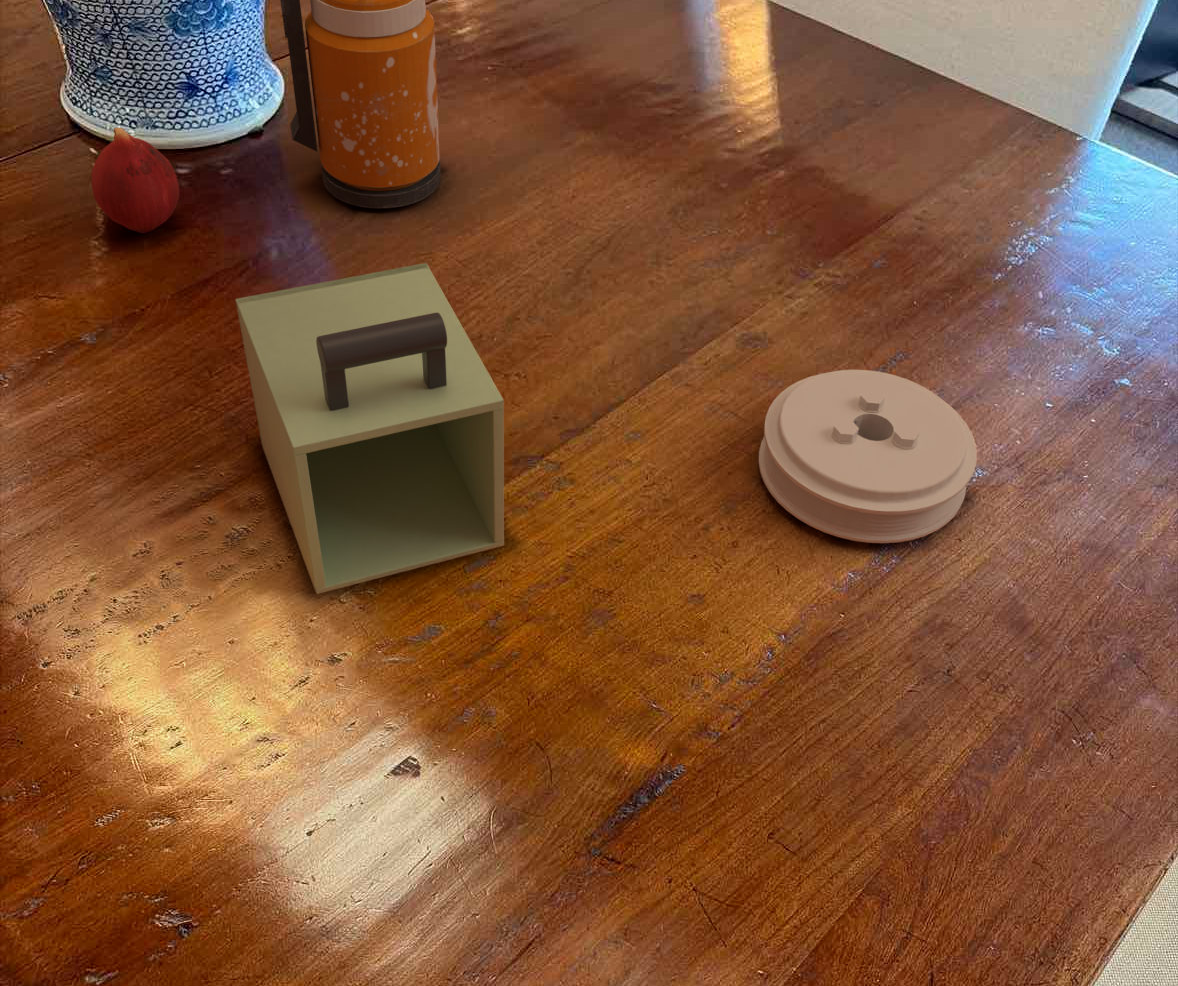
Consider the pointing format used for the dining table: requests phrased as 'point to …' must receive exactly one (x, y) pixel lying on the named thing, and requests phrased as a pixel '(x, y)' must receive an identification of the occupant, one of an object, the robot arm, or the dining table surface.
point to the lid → (866, 456)
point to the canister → (367, 97)
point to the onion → (134, 183)
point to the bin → (376, 424)
